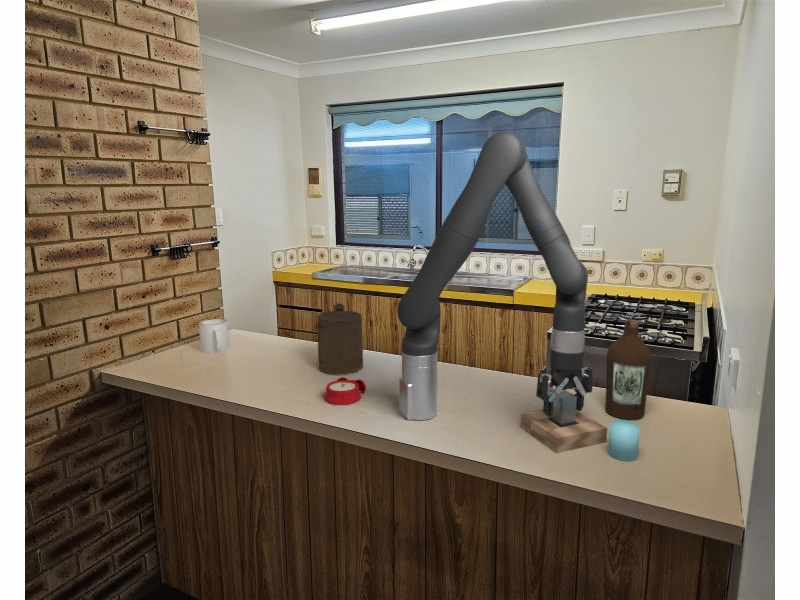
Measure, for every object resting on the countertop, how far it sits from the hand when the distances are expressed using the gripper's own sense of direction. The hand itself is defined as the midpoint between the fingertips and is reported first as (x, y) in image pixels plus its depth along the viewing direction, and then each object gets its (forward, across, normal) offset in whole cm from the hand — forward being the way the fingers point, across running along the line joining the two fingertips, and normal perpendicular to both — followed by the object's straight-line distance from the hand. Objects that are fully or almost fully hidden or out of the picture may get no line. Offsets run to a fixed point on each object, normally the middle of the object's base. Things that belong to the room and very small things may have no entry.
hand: (563, 412), depth 122 cm
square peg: (+5, 0, 0) cm, 5 cm away
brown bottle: (+6, +23, +4) cm, 24 cm away
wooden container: (+6, -37, +68) cm, 78 cm away
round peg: (+6, +6, -13) cm, 15 cm away
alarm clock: (+6, -42, +43) cm, 61 cm away
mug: (+6, -76, +106) cm, 131 cm away
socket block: (+6, 0, 0) cm, 6 cm away
